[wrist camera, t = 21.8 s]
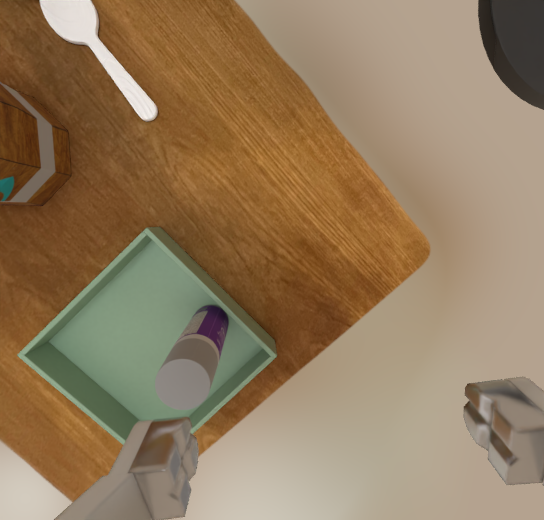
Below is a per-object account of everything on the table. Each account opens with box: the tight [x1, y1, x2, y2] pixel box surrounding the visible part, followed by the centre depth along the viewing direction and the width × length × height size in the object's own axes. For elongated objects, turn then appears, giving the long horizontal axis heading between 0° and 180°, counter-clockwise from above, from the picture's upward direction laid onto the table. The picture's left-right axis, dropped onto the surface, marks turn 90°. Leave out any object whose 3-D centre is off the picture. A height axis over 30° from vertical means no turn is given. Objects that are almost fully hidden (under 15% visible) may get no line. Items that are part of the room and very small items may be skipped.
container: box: [155, 305, 229, 410], centre depth 31 cm, size 5×5×15 cm
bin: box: [17, 227, 277, 445], centre depth 37 cm, size 21×21×5 cm
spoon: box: [40, 0, 158, 121], centre depth 34 cm, size 5×18×1 cm, turn 38°
